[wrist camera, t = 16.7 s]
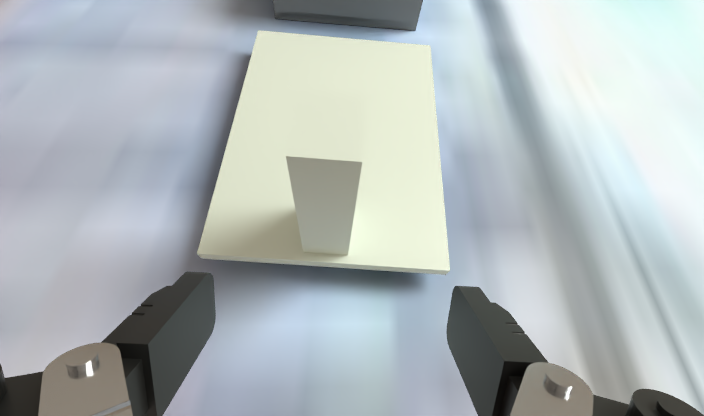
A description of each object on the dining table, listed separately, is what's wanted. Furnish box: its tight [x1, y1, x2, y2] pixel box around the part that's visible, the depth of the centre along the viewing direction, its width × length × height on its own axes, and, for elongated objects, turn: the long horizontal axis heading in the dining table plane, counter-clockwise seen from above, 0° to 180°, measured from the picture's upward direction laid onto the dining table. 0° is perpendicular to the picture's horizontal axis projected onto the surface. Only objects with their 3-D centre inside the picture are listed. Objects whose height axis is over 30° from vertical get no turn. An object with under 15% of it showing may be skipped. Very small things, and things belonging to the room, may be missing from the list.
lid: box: [197, 30, 450, 275], centre depth 20 cm, size 19×14×11 cm
